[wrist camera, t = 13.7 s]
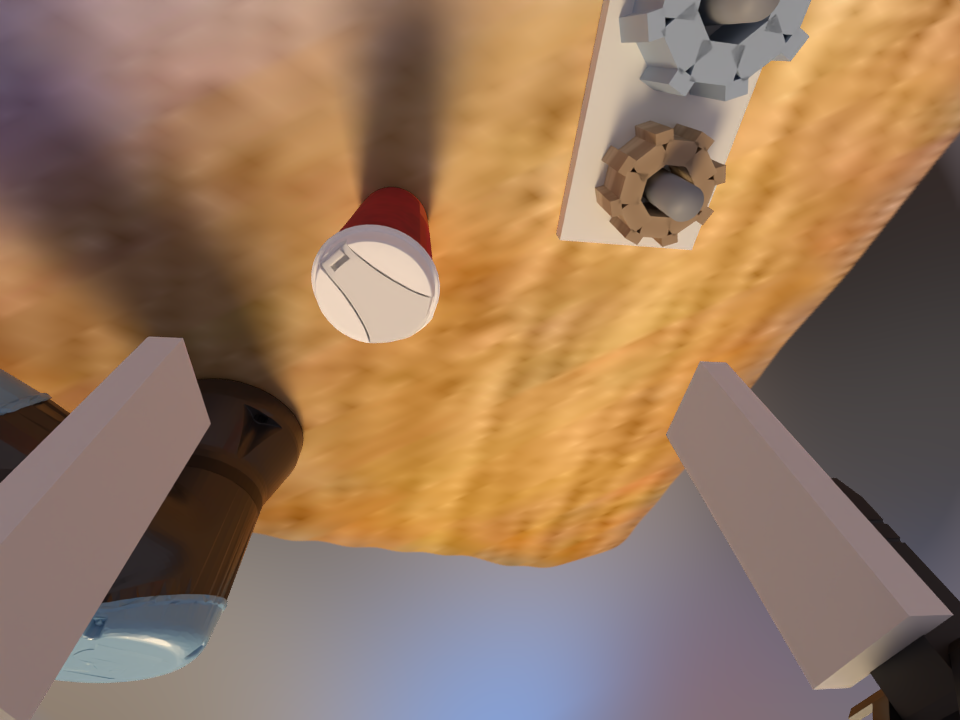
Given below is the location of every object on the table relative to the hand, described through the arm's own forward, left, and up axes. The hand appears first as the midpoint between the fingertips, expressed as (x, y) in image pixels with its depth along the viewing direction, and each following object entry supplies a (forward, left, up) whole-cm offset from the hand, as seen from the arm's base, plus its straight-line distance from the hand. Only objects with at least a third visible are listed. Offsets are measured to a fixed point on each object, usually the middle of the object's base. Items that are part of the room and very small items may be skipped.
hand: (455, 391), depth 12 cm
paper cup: (-4, -5, -29) cm, 30 cm away
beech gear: (+16, 0, -27) cm, 32 cm away
